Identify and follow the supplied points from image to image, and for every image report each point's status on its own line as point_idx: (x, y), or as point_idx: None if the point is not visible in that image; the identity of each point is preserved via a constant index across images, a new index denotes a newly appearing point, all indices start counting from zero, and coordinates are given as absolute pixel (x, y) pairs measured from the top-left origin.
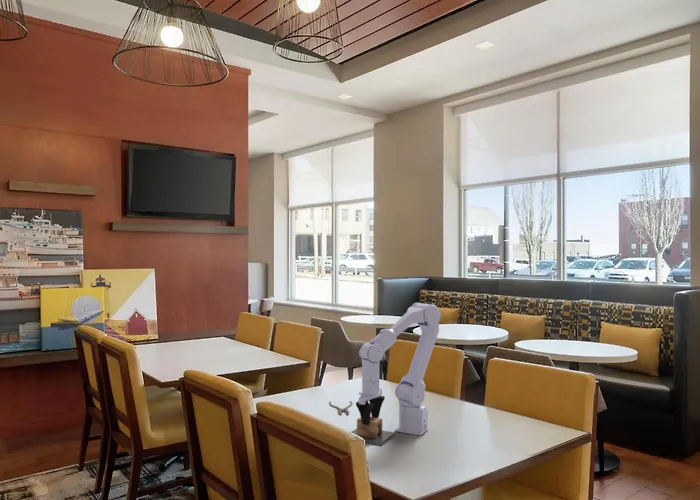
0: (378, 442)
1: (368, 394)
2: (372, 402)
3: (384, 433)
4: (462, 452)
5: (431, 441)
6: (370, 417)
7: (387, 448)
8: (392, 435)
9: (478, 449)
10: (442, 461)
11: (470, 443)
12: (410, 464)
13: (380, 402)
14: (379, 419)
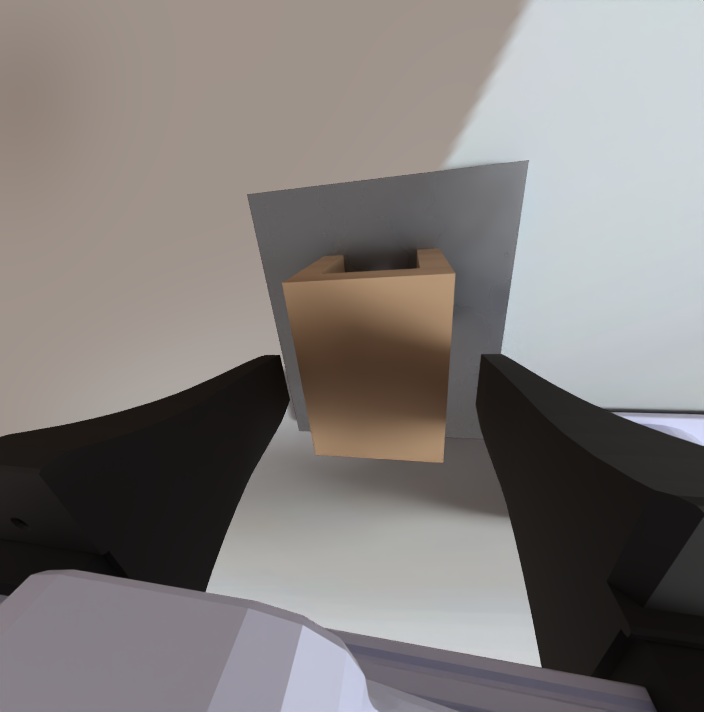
0: (297, 413)
1: None
2: (556, 486)
3: None
4: (405, 618)
5: (470, 555)
6: (420, 370)
7: (291, 447)
8: (448, 432)
9: (455, 645)
10: (303, 585)
11: (506, 636)
12: None
13: (533, 601)
14: (403, 451)
